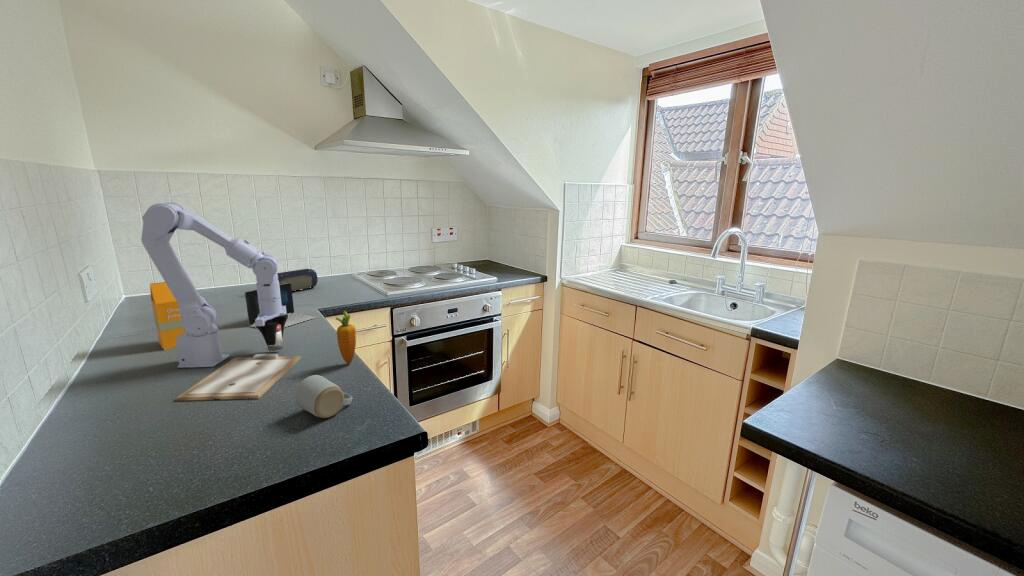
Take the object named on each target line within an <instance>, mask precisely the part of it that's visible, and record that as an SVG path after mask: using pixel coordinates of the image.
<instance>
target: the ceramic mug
mask: <svg viewBox="0 0 1024 576" xmlns="http://www.w3.org/2000/svg"><path fill="white" fill-rule="evenodd" d="M294 401H295V403H296V405H297V406H298V407H300V408H301V409H303V410H304V411H306V412H308V413H310V414H311V415H314V416H315V417H318V418H321V419H328V418H331V417H333V416H334V415H337V413H338V412H339V411H340V410H341V409H342V407H343V406H350V405H351V404H352V402H353V396H352V395H350V394H349V393H346V392H344V391H343V390H342V389H341V387H340V386H338V385H337V384H336V383H334V382H332V381H330V380H328V379H327V378H326V377H324V376H322V375H319V374H313V375H309V376H307V377H305V378H304V379H303V380H301V381H300V383H299V384H298V385H297V387H296V388H295V393H294Z"/></svg>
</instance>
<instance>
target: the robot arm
mask: <svg viewBox="0 0 1024 576" xmlns="http://www.w3.org/2000/svg"><path fill="white" fill-rule="evenodd" d="M141 219H142V231H141V238H140V239H141V240H140V241H141V244H142V246H143V247H144V249H145V251H146V252H147V254H148V255H149V258H150V259H151V260H152V262H153V264H154V265H155V267H156V269H157V271H158V273H159V274H160V276H161V277H162V279H163V282H166V284H167V286H168V288H169V289H170V291H171V293H172V294H173V296H174V298H175V299H176V301H177V303H178V305H179V314H180V315H181V317H182V326H183V329H184V330H185V331H186V332H184V333H181V334H180V335H179V336H178V337H177V340H176V348H175V349H176V354H177V359H178V365H177V368H179V369H181V368H184V369H185V368H210V367H211V368H213V367H215V366H217V365H218V364H220V363H221V362H223V361H224V360H226V359H227V358H229V357H230V354H223V353H222V346H221V339H220V332H219V327H218V326H217V325H216V324H215V322H216V321H217V318H218V312H217V311H216V309H215V308H214V307H213V306H211V305H209V304H208V301H206V299H205V298H204V297H202V296H201V295H200V293H199V291H198V290H197V288H196V287H195V284H194V283H193V281H192V280H191V278H190V276H189V275H188V273H187V271H186V269H185V268H184V266H183V264H182V262H181V261H180V259H179V257H178V255H177V253H176V252H175V250H174V248H173V247H172V245H171V243H170V241H171V239H172V237H173V235H174V234H175V231H176V230H182V231H183V230H184V231H193V232H196V233H198V234H200V235H201V236H203V237H204V238H206V239H208V240H210V241H211V242H213V243H215V244H217V245H218V246H220V247H221V248H224V250H225V255H226V256H228V257H230V258H231V259H232V260H234V261H236V262H237V263H239V264H241V265H242V266H245V268H247V269H251V270H252V272H253V274H254V275H255V278H256V282H255V285H256V290H257V294H258V302H259V310H260V313H259V315H258V317H257V319H255V325H256V327H257V328H258V331H259V332H260V333H261V335H262V337H263V339H264V341H265V344H266V345H275V343H276V329H277V325H278V324H281V333H282V339H283V338H284V333H285V331H284V330H285V328H284V326H285V323H286V320H287V318H288V315H285V314H287V312H286V306H282V304H281V295H280V286H279V281H278V275H277V273H278V272H277V271H278V267H279V265H278V261H277V259H276V258H274V257H273V255H270V254H267V251H265V250H262V251H261V250H260V249H258V248H256V247H255V246H253V245H252V244H250V243H251V241H250V240H248V239H247V238H245V239H243V238H239V237H238V238H233V237H230V236H229V235H228V234H226V232H224V231H222V230H220V229H219V228H217V227H216V226H215V225H213V224H211V223H210V222H209V221H208V220H205V219H204V218H203V217H202V216H199V215H198V214H196V213H195V212H193V211H192V210H190V209H188V208H184V207H183V206H182V205H181V204H179V203H175V202H164V203H159V202H158V203H155V204H152V205H150V206H149V207H148V208H147V210H146V211H145V212H144V214H143V215H142V217H141Z"/></svg>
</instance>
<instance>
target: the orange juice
mask: <svg viewBox="0 0 1024 576" xmlns="http://www.w3.org/2000/svg"><path fill="white" fill-rule="evenodd" d="M149 289H150V301H151V307H152V311H153V312H152V313H153V317H154V318H153V319H154V325H155V328H156V334H157V338H158V344H159V346H160V345H161V346H162V347H161V346H160V347H161V349H162V348H163V349H164V350H163V349H162V350H163V351H166V350H165V349H168V350H171V349H170V348H173V349H175V348H174V347H176V340H177V337H178V336H179V335H180V334H181V333H184V332H186V331H185V330H184V329H183V326H182V317H181V315H180V314H179V305H178V303H177V301H176V299H175V298H174V296H173V294H172V293H171V291H170V289H169V288H168V286H167V284H166V282H165V281H162V282H161V281H160V282H154V283H153V282H152V283H150V284H149Z"/></svg>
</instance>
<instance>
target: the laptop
mask: <svg viewBox="0 0 1024 576" xmlns="http://www.w3.org/2000/svg"><path fill="white" fill-rule="evenodd" d="M279 286H280V295H281V304H282V306H286V312H287V314H285V315H288V318H287V320H286V323H285V326H284V329H285V327H286V328H288V326H289V327H292V326H295V325H298V324H297V323H299V324H301V323H300V322H302V323H304V322H303V321H305V322H308V321H311V320H310V319H312V320H314V319H316V318H317V316H313V315H306V314H302V313H299V314H300V315H299V317H298V315H297V314H298V313H297V312H295V307H294V298H293V292H292V288H291V283H285V284H281V285H279ZM244 297H245V303H246V304H245V305H246V313H247V319H248V320H247V321H248V325H249V327H250V326H251V327H250V328H252V327H255V328H254V329H256V328H257V327H256V325H255V319H257V317H258V315H259V313H260V310H259V302H258V294H257V289H252V290H248V291H245V292H244ZM293 313H295V314H296V316H295V315H294V314H293ZM290 314H293V316H292V317H291V316H290ZM302 315H304V316H302ZM301 316H302V318H301ZM291 320H292V321H291ZM307 320H308V321H307ZM294 324H295V325H294ZM291 325H292V326H291Z"/></svg>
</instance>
